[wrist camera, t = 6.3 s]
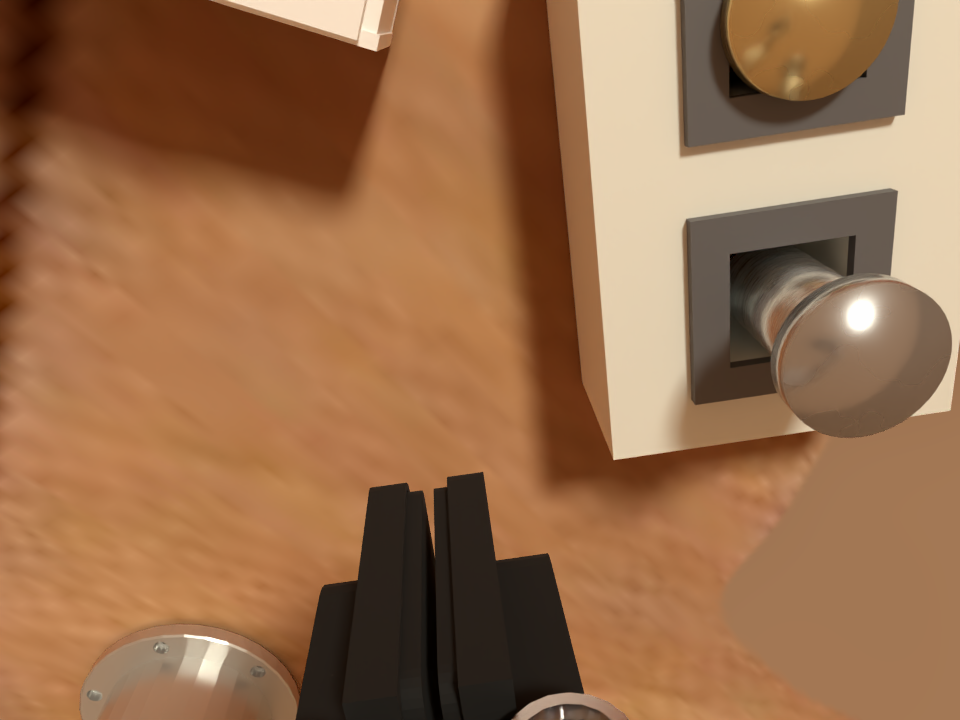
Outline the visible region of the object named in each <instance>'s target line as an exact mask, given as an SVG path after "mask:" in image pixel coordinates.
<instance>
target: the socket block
mask: <svg viewBox="0 0 960 720" xmlns="http://www.w3.org/2000/svg"><path fill="white" fill-rule="evenodd" d="M722 1H723V0H546V3H547V14H548V25H549V35H550V46H551V56H552V67H553V78H554V88H555V99H556V110H557V120H558V131H559V142H560V152H561V163H562V173H563V184H564V195H565V205H566V216H567V227H568V237H569V248H570V258H571V269H572V280H573V290H574V301H575V312H576V322H577V333H578V343H579V354H580V365H581V375H582V383H583V385H584V388H585V390H586V393H587V395H588V398H589V400H590V403H591V405H592V408H593V410H594V413H595V415H596V418H597V420H598V423H599V425H600V428H601V430H602V433H603V435H604V438H605V440H606V443H607V445H608V447H609V450H610V452H611V455H612V457H613V460H618V459H624V458H631V457H638V456H645V455H652V454H658V453H665V452H672V451H679V450H686V449H692V448H699V447H706V446H713V445H720V444H726V443H733V442H740V441H747V440H754V439H760V438H767V437H774V436H781V435H788V434H794V433H801V432H808V431H815V430H813V429H812V428H810V427H809V426H807V425H806V424H804V423H803V422H802V421H801V420H800V419H799V418H798V417H797V416H796V415H795V414H794V413H793V412H792V410H791V409H790V408H789V407H788V406H787V405H786V404H785V403H784V401H783V400H782V399H781V398H780V396H779V394H778V393H777V391H776V389H775V386H774V384H773V380H772V376H771V365H770V362H771V354H770V353H769V352H768V351H767V350H766V349H765V348H764V347H763V346H762V345H761V344H760V343H759V342H758V341H757V340H756V339H755V338H754V337H753V336H752V335H751V334H750V333H749V332H748V331H747V330H746V329H745V328H744V327H743V326H742V325H741V324H740V323H739V322H738V321H737V320H736V319H735V318H734V317H733V316H732V315H731V314H730V254H734V253H740V252H747V251H754V250H760V249H767V248H774V247H780V246H787V245H793V246H795V247H797V248H798V249H800V250H801V251H803V252H805V253H806V254H808V255H810V256H811V257H813V258H814V259H816V260H818V261H819V262H821V263H822V264H824V265H826V266H827V267H829V268H831V269H832V270H834V271H835V272H837V273H839V274H840V275H842V276H844V277H845V276H850V275H855V274H863V273H876V274H883V275H889V276H892V277H895V278H898V279H900V280H902V281H903V282H905V283H907V284H909V285H911V286H913V287H915V288H916V289H918V290H920V291H922V292H924V293H926V294H927V295H928V296H930V297H931V298H932V299H934V301H935V302H936V303H937V304H938V305H939V306H940V307H941V309H942V310H943V312H944V313H945V315H946V317H947V319H948V322H949V325H950V329H951V334H952V352H951V357H950V362H949V365H948V368H947V371H946V373H945V375H944V378H943V380H942V382H941V383H940V385H939V386H938V388H937V390H936V391H935V392H934V394H933V395H932V396H931V398H930V399H929V400H928V401H927V402H926V403H925V404H924V405H923V406H922V407H921V408H920V409H919V410H918V411H917V412H915V413H914V414H913V415H912V416H917V415H923V414H930V413H937V412H944V411H950V409H951V402H952V395H953V387H954V379H955V372H956V365H957V357H958V350H959V341H960V0H899V2H898V9H897V14H896V18H895V22H894V25H893V28H892V30H891V33H890V36H889V38H888V40H887V42H886V44H885V46H884V47H883V49H882V51H881V52H880V54H879V55H878V57H877V58H876V59H875V61H874V62H873V63H872V64H871V66H870V67H869V68H868V69H867V70H866V71H865V72H864V73H863V74H862V75H861V76H860V77H858V78H857V79H856V80H855V81H854V82H852V83H851V84H849V85H848V86H846V87H845V88H843V89H841V90H839V91H837V92H835V93H833V94H831V95H828V96H826V97H823V98H819V99H814V100H807V101H792V100H786V99H781V98H777V97H772V96H768V95H765V94H762V93H760V92H758V91H756V90H754V89H752V88H751V87H749V86H748V85H747V84H745V83H744V82H743V81H742V80H741V79H740V78H739V77H738V76H737V75H736V73H735V72H729V62H728V60H727V58H726V55H725V52H724V49H723V46H722V41H721V34H720V13H721V7H722Z"/></svg>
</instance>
